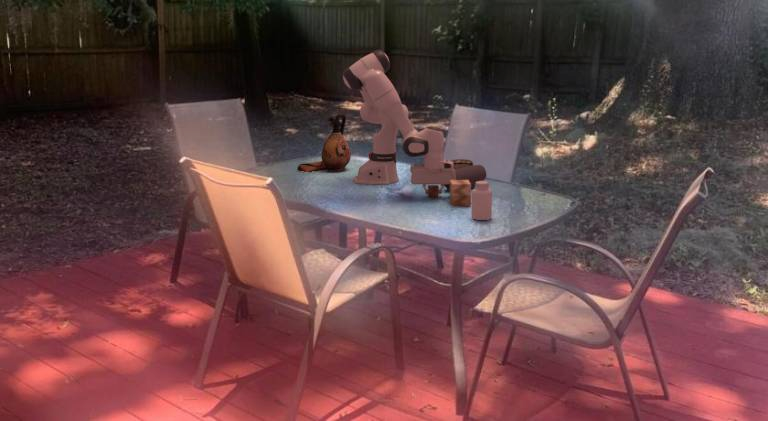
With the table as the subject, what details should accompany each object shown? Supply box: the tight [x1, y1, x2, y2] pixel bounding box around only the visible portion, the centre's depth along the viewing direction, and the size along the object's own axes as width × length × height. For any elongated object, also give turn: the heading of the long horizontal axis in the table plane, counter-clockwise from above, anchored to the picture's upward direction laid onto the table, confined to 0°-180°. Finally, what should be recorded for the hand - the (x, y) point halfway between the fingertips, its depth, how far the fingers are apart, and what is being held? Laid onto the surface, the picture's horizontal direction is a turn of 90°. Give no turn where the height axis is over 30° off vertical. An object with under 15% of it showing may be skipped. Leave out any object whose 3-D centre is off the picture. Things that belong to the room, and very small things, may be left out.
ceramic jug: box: [321, 113, 352, 173], centre depth 358 cm, size 17×15×30 cm
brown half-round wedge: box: [449, 158, 474, 170], centre depth 337 cm, size 12×6×10 cm, turn 84°
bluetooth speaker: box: [444, 164, 487, 191], centre depth 322 cm, size 23×9×10 cm, turn 134°
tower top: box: [449, 180, 472, 197], centre depth 293 cm, size 8×8×5 cm
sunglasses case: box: [297, 160, 327, 173], centre depth 364 cm, size 18×7×7 cm, turn 131°
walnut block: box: [427, 184, 440, 199], centre depth 306 cm, size 4×4×5 cm
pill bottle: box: [471, 180, 493, 221], centre depth 272 cm, size 8×8×15 cm
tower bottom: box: [449, 193, 472, 208], centre depth 295 cm, size 8×8×5 cm
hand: (433, 193), depth 306 cm, fingers closed on walnut block, 4 cm apart
